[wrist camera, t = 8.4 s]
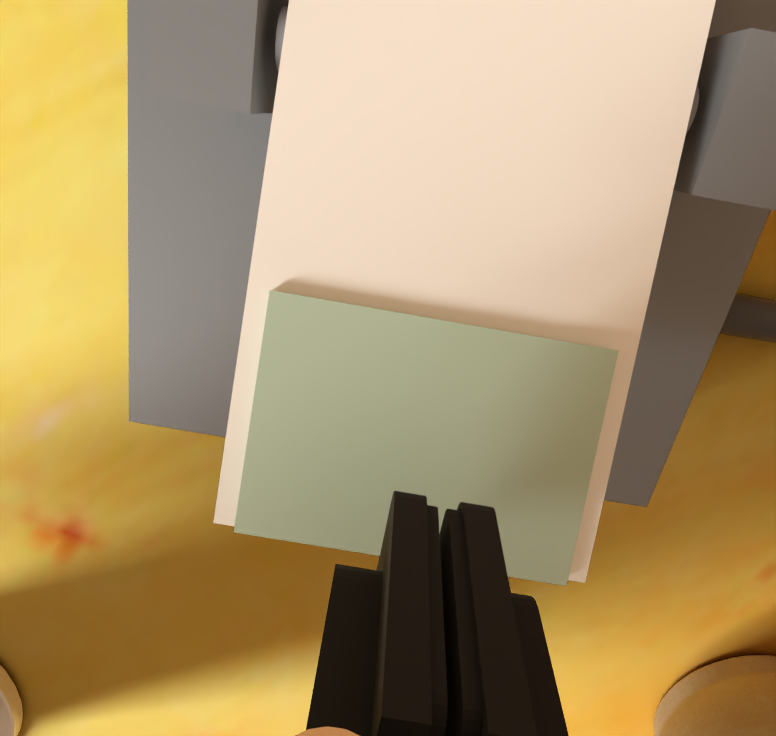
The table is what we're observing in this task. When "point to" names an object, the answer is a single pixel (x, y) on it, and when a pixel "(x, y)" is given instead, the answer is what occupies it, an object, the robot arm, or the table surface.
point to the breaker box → (243, 191)
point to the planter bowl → (722, 700)
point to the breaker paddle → (455, 265)
